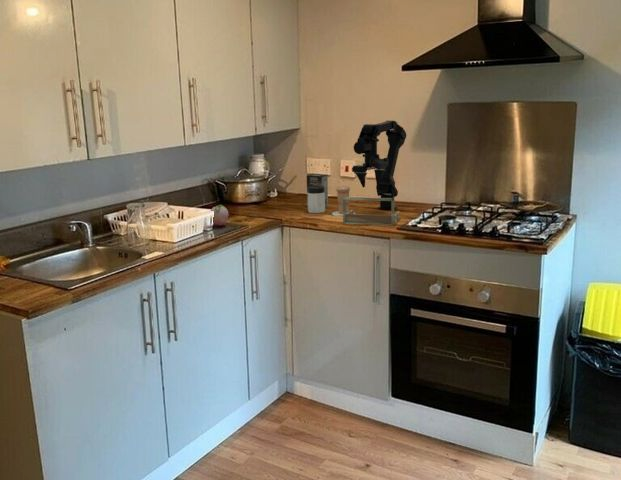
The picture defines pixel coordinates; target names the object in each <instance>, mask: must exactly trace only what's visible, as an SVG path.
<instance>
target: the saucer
mask: <svg viewBox="0 0 621 480" xmlns="http://www.w3.org/2000/svg"><path fill="white" fill-rule="evenodd" d="M354 214H356V212H355V211H354ZM331 216H333V217H338V216H342V217H343V214H339V213H338V210H337V211H333V212H331Z"/></svg>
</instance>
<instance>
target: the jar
mask: <svg viewBox="0 0 621 480" xmlns="http://www.w3.org/2000/svg"><path fill="white" fill-rule="evenodd" d="M307 190H308V207H307V211H308V213H309V214H321V213H322V214H323V213H325V212H326V207H325V193H324V190H325V189H324V186H309V187H307V186H306V191H307Z"/></svg>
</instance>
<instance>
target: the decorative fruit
mask: <svg viewBox="0 0 621 480" xmlns="http://www.w3.org/2000/svg"><path fill="white" fill-rule="evenodd" d="M210 211H214V217H213V222H212V223H213V224H215V225H217V226H219V227H221V226H223V225H225V224H226V223H227V221H228V219H229V211H228V209H227V208H226V207H225V206H224V205H223V204H218V205H216V206H213V207H212V208H211V209H210Z"/></svg>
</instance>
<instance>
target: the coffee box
mask: <svg viewBox="0 0 621 480" xmlns="http://www.w3.org/2000/svg"><path fill="white" fill-rule="evenodd" d="M328 177H329V175H328V174H322V173H320V174H319V173H310V174H307V175H306V188H307V187H309V186H324V189H325V190H324V193H325V208H326V207H329V193H328V192H329V189H328V188H329V187H328V186H329V185H328V184H329V182H328V181H329V180H328ZM306 207H307V208H308V190H307V189H306Z"/></svg>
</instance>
